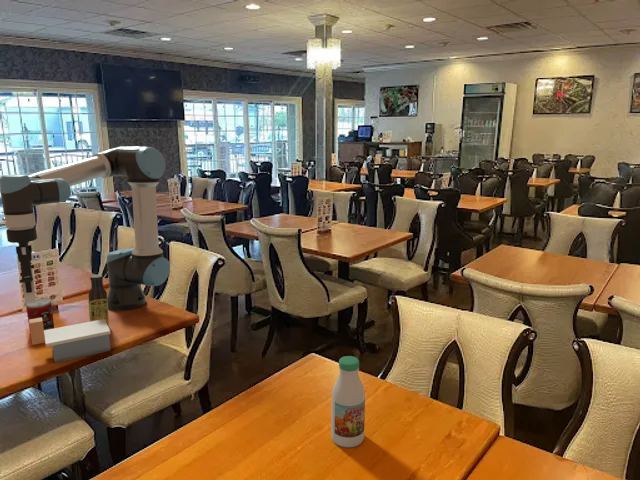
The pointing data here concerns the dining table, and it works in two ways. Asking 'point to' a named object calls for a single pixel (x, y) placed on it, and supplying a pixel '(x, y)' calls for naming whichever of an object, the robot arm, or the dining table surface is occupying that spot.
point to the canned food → (41, 312)
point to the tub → (81, 348)
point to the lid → (66, 332)
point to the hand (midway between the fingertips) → (30, 295)
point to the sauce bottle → (98, 300)
